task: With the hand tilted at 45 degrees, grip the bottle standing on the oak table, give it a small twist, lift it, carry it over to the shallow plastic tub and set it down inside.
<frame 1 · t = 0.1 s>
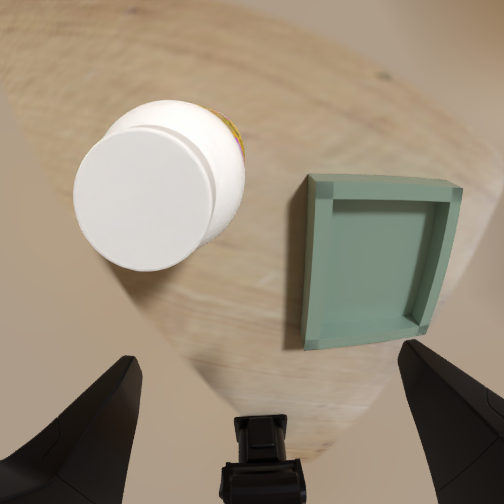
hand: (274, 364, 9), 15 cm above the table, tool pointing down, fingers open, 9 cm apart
supplement bottle: (197, 152, 20), on the table
tub: (375, 259, 24), on the table
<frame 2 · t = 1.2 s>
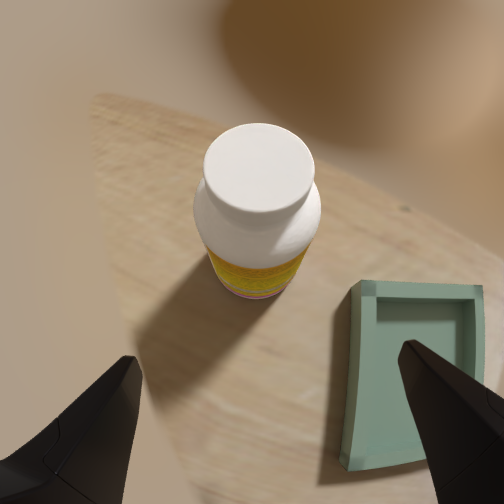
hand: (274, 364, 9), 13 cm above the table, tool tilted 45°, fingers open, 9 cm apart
supplement bottle: (255, 259, 24), on the table
tub: (415, 373, 21), on the table
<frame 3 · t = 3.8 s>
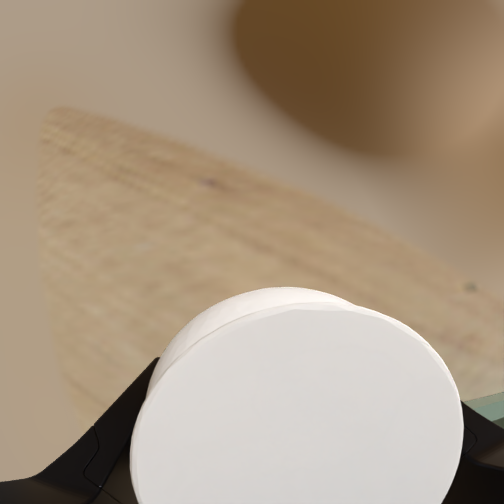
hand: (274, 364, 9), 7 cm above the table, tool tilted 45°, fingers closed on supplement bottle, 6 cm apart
supplement bottle: (266, 384, 15), on the table, touching gripper
tub: (455, 492, 12), on the table
when the fingers open (9 cm above the table, at t = 7.5 s): supplement bottle drops 1 cm, resting on tub.
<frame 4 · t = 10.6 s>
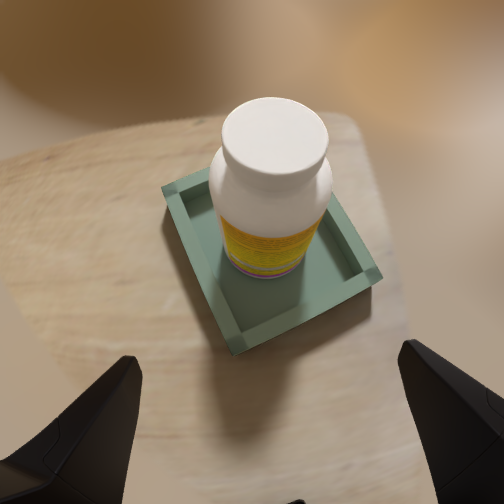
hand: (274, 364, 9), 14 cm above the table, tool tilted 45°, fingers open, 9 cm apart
supplement bottle: (265, 241, 25), resting on tub
tub: (266, 241, 25), on the table
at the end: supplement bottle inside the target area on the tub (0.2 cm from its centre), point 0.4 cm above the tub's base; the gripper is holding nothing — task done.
